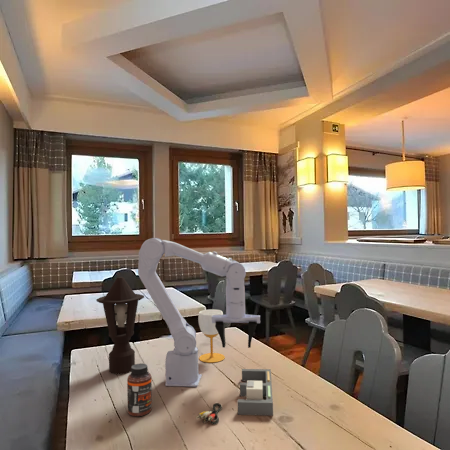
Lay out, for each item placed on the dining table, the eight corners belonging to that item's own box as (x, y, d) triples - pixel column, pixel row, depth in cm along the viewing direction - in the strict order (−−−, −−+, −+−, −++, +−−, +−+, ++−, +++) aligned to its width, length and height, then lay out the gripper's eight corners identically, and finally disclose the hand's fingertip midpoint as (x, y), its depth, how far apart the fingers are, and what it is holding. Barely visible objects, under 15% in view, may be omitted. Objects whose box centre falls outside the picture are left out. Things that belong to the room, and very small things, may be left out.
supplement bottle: (139, 420, 86) (138, 372, 86) (122, 413, 89) (121, 367, 89) (157, 409, 91) (156, 364, 91) (140, 403, 94) (139, 360, 94)
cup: (229, 356, 127) (228, 310, 127) (215, 364, 119) (214, 316, 119) (208, 352, 131) (207, 308, 132) (193, 360, 124) (192, 313, 124)
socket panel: (237, 414, 87) (237, 400, 87) (242, 378, 107) (242, 367, 107) (273, 415, 86) (272, 401, 86) (270, 379, 107) (270, 367, 107)
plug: (246, 409, 90) (246, 387, 90) (247, 399, 95) (247, 379, 95) (262, 409, 89) (262, 388, 89) (262, 399, 94) (262, 379, 94)
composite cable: (215, 405, 92) (214, 396, 92) (231, 409, 90) (231, 399, 90) (195, 425, 84) (195, 414, 84) (213, 429, 81) (213, 418, 81)
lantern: (140, 358, 127) (138, 273, 127) (150, 372, 114) (148, 278, 114) (95, 365, 121) (93, 276, 121) (101, 382, 107) (98, 282, 107)
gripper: (209, 304, 105) (211, 350, 105) (259, 304, 104) (260, 351, 104) (213, 299, 112) (214, 343, 112) (259, 299, 111) (260, 343, 111)
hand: (236, 346), depth 108 cm, fingers open, 7 cm apart
